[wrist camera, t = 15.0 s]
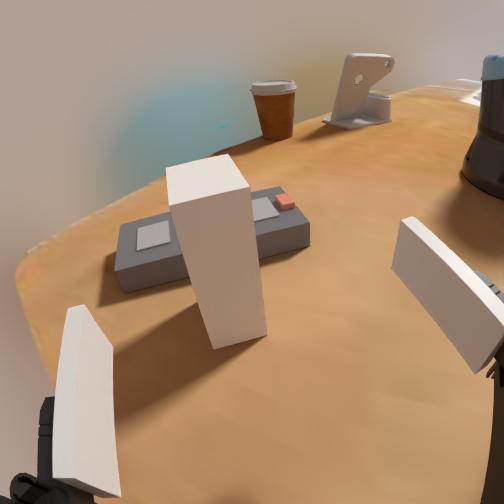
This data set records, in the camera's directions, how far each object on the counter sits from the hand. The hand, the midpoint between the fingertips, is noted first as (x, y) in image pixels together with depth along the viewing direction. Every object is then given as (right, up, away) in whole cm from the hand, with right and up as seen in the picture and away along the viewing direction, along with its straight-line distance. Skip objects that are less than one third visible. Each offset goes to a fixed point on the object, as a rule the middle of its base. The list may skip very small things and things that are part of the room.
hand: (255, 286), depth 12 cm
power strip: (-5, +2, +24) cm, 24 cm away
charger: (-2, -4, +15) cm, 16 cm away
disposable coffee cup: (+5, +26, +53) cm, 60 cm away
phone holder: (+27, +34, +60) cm, 74 cm away
